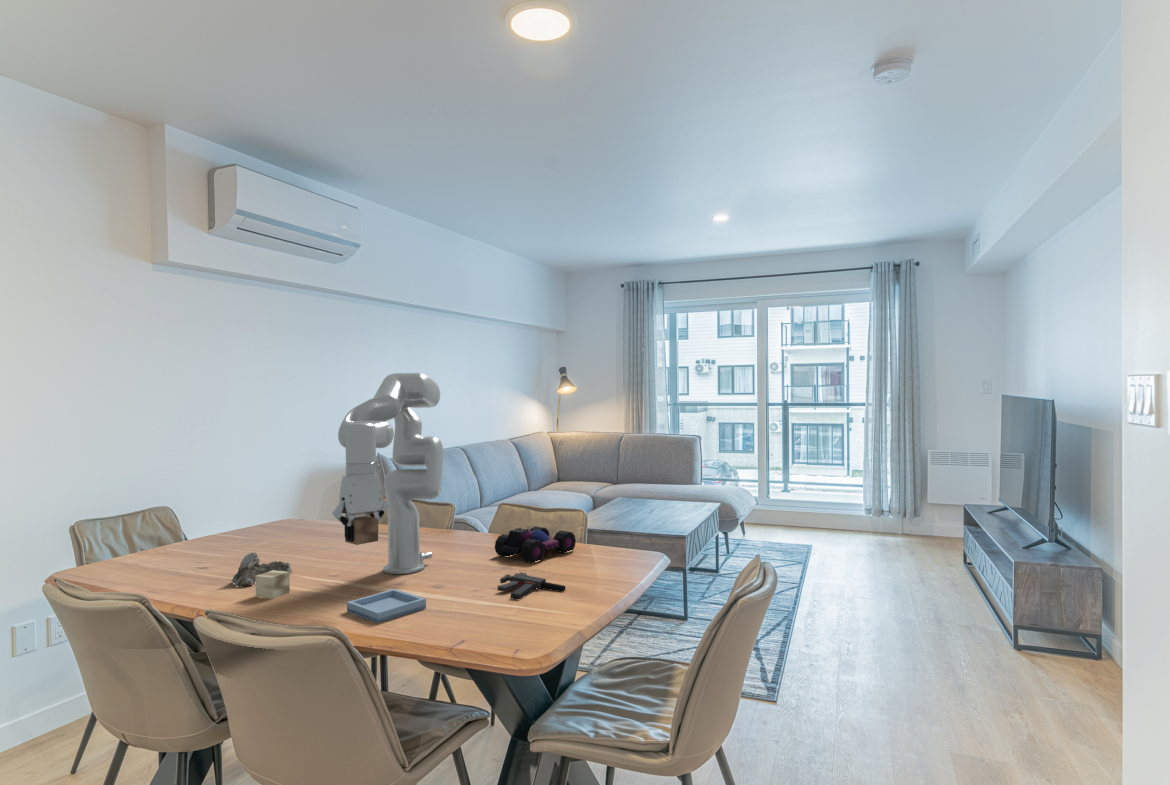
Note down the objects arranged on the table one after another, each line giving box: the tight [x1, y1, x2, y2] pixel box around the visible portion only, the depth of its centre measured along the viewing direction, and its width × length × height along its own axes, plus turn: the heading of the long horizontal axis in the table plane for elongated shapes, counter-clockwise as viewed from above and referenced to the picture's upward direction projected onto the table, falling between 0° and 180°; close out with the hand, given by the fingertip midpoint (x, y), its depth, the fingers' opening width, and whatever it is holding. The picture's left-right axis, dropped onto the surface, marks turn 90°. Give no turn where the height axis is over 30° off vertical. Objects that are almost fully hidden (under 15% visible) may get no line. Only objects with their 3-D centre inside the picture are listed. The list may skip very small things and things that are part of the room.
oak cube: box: [255, 570, 291, 600], centre depth 180 cm, size 6×6×6 cm
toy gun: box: [497, 571, 566, 600], centre depth 179 cm, size 3×19×15 cm
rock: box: [231, 551, 292, 587], centre depth 197 cm, size 18×11×10 cm, turn 145°
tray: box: [346, 588, 427, 624], centre depth 165 cm, size 14×14×2 cm
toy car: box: [494, 525, 577, 563], centre depth 222 cm, size 17×25×10 cm, turn 141°
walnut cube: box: [344, 515, 379, 546], centre depth 169 cm, size 6×6×6 cm
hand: (361, 538), depth 168 cm, fingers closed on walnut cube, 6 cm apart
